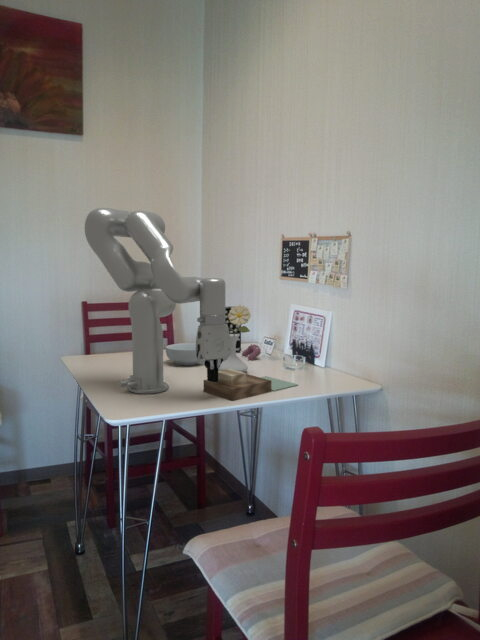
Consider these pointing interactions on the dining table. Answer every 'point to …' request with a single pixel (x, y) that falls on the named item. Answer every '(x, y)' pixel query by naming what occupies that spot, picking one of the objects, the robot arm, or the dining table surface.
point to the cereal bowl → (182, 353)
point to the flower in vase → (237, 317)
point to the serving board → (239, 388)
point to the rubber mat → (279, 384)
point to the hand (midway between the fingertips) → (212, 381)
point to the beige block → (231, 377)
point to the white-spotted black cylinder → (234, 327)
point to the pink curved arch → (252, 352)
